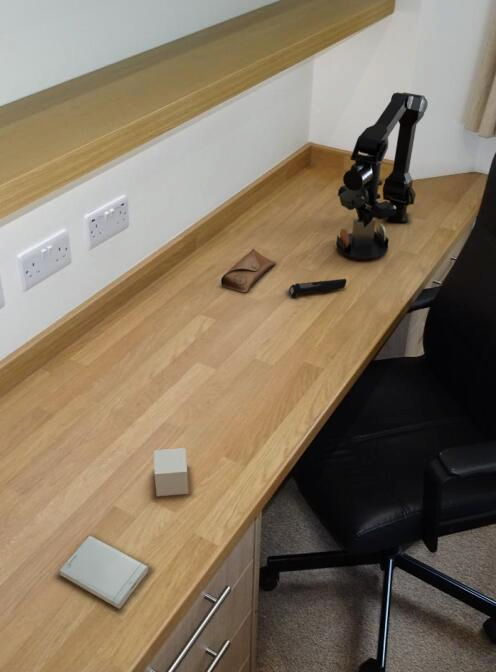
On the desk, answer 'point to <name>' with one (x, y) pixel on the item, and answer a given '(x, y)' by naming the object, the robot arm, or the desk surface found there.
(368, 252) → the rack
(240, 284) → the sunglasses case
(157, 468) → the light grey cube
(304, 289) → the electric trimmer
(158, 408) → the desk surface
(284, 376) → the desk surface
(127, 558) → the hard drive
